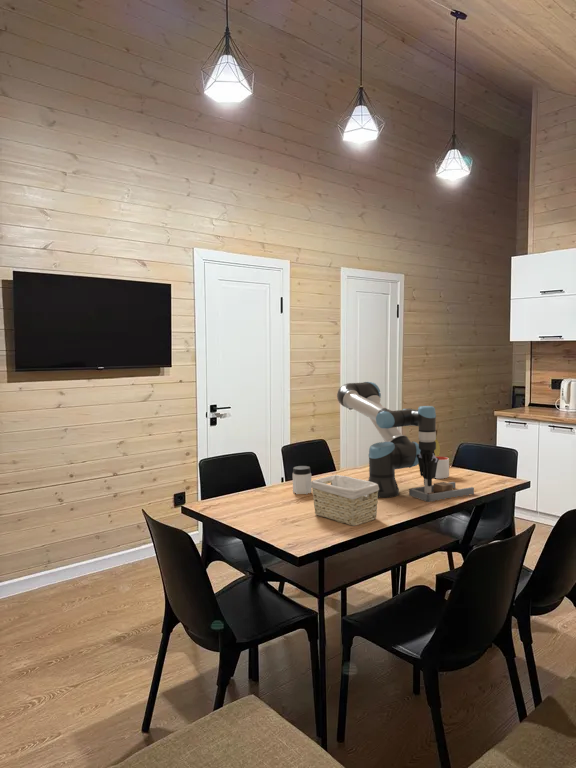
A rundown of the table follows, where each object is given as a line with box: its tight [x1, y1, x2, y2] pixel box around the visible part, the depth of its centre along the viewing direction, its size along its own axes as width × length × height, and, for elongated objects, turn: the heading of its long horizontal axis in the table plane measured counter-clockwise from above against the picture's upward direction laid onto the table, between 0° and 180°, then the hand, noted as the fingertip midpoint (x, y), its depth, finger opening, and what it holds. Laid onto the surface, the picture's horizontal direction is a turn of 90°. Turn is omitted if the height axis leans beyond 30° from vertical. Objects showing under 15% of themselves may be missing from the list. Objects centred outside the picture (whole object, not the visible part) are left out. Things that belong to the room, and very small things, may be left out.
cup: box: [434, 455, 450, 480], centre depth 293 cm, size 10×10×10 cm
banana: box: [417, 429, 441, 466], centre depth 317 cm, size 23×6×20 cm, turn 139°
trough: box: [408, 481, 475, 503], centre depth 259 cm, size 26×13×3 cm, turn 115°
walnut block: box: [433, 481, 454, 493], centre depth 259 cm, size 6×6×5 cm
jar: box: [292, 465, 313, 495], centre depth 269 cm, size 9×8×12 cm
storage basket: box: [311, 474, 379, 527], centre depth 228 cm, size 24×16×15 cm
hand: (428, 492), depth 255 cm, fingers closed
